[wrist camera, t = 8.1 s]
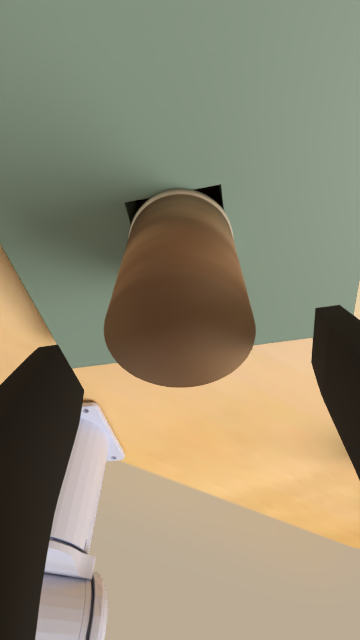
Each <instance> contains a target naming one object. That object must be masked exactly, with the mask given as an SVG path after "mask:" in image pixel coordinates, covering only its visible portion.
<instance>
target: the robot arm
mask: <svg viewBox="0 0 360 640" xmlns="http://www.w3.org/2000/svg"><path fill="white" fill-rule="evenodd" d="M311 363H312V366H313V369H314V373H315V376H316V379H317V382H318V386H319V389H320V392H321V395H322V397H323V400H324V402H325V404H326V406H327V409H328V411H329V413H330V415H331V418H332V420H333V422H334V424H335V427H336V429H337V431H338V433H339V435H340V437H341V440H342V442H343V444H344V446H345V448H346V451H347V453H348V455H349V457H350V459H351V462H352V464H353V466H354V468H355V470H356V473H357V475H358V477H359V480H360V320H359V319H358V318H356V317H355V316H354V315H352V314H351V313H350V312H349V311H347V310H346V309H345V308H343V307H342V306H341V305H334V306H327V307H320V308H315V319H314V333H313V347H312V361H311ZM83 395H84V389H83V387H82V386H81V384H80V382H79V380H78V379H77V377H76V375H75V373H74V372H73V370H72V368H71V366H70V365H69V363H68V361H67V359H66V358H65V356H64V354H63V352H62V351H61V349H60V347H59V345H52V346H45V347H39V348H37V349H36V350H35V351H34V352H33V353H32V354H31V355H30V356H29V357H28V358H27V359H26V360H25V361H24V362H23V363H22V364H21V365H20V366H19V367H18V368H17V369H16V370H15V371H14V372H13V373H12V374H11V375H10V376H9V377H8V378H7V379H6V380H5V381H4V382H3V383H2V384H1V385H0V640H104V638H105V631H106V622H107V607H108V605H107V604H108V603H107V592H106V588H105V586H104V584H103V580H102V577H101V575H100V574H99V573H97V572H93V570H94V564H95V558H96V557H95V556H92V555H89V550H90V544H91V539H92V534H93V528H94V523H95V518H96V512H97V507H98V502H99V497H100V492H101V486H102V481H103V476H104V470H105V465H106V461H115V460H122V459H124V457H125V453H124V451H123V449H122V448H121V446H120V444H119V442H118V440H117V438H116V437H115V435H114V433H113V431H112V429H111V427H110V426H109V424H108V422H107V420H106V418H105V416H104V415H103V413H102V411H101V409H100V407H99V406H98V404H96V403H93V402H89V403H83Z"/></svg>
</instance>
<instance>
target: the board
mask: <svg viewBox="0 0 360 640" xmlns="http://www.w3.org/2000/svg"><path fill="white" fill-rule="evenodd" d="M215 185H218V186H219V195H220V204H221V207H222V208H223V210H224V211H225V213H226V214H227V216H228V218H229V221H230V224H231V227H232V231H233V238H234V244H235V247H236V251H237V255H238V259H239V263H240V266H241V270H242V274H243V278H244V282H245V286H246V289H247V293H248V297H249V301H250V305H251V308H252V312H253V316H254V320H255V326H256V335H255V341H254V344H253V345H259V344H267V343H274V342H282V341H290V340H298V339H306V338H313V333H314V319H315V308H320V307H327V306H334V305H341V306H342V307H343V308H345V309H346V310H347V311H349V312H350V313H351V314H352V315H354V309H355V303H356V297H357V291H358V285H359V279H360V0H0V244H1V246H2V248H3V250H4V251H5V253H6V255H7V257H8V258H9V260H10V262H11V264H12V266H13V267H14V269H15V271H16V273H17V274H18V276H19V278H20V280H21V281H22V283H23V285H24V287H25V288H26V290H27V292H28V294H29V296H30V297H31V299H32V301H33V303H34V304H35V306H36V308H37V310H38V311H39V313H40V315H41V317H42V318H43V320H44V322H45V324H46V326H47V327H48V329H49V331H50V333H51V334H52V336H53V338H54V340H55V341H56V343H57V345H59V347H60V349H61V351H62V352H63V354H64V356H65V358H66V359H67V361H68V363H69V365H70V366H71V368H79V367H87V366H95V365H103V364H111V363H117V362H116V360H115V359H114V358H113V357H112V355H111V353H110V352H109V350H108V348H107V345H106V343H105V338H104V321H105V317H106V314H107V310H108V307H109V303H110V300H111V297H112V293H113V290H114V286H115V283H116V280H117V276H118V273H119V269H120V266H121V262H122V259H123V256H124V252H125V249H126V245H127V242H128V237H129V231H130V227H131V224H132V221H133V219H134V216H135V214H136V213H137V211H138V206H137V202H136V200H141V199H146V198H151V197H153V196H155V195H156V194H159V193H161V192H164V191H167V190H172V189H191V190H194V189H199V188H204V187H210V186H215Z"/></svg>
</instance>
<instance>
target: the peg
mask: <svg viewBox="0 0 360 640" xmlns="http://www.w3.org/2000/svg"><path fill="white" fill-rule="evenodd" d="M255 335H256V326H255V320H254V316H253V312H252V308H251V305H250V301H249V297H248V293H247V289H246V286H245V282H244V278H243V274H242V270H241V266H240V263H239V259H238V255H237V251H236V247H235V244H234V238H233V231H232V227H231V224H230V221H229V218H228V216H227V214H226V213H225V211H224V210H223V208H222V207H221V206H220V205H219V204H218V203H217V202H216V201H215V200H213V199H212V198H211V197H209V196H207V195H206V194H203V193H201V192H198V191H195V190H191V189H172V190H167V191H164V192H161V193H159V194H156V195H155V196H153V197H151V198H150V199H148V200H147V201H146V202H145V203H144V204H143V205H142V206H141V207H140V208H139V210H138V211H137V213H136V214H135V216H134V219H133V221H132V224H131V227H130V231H129V237H128V242H127V245H126V249H125V252H124V256H123V259H122V262H121V266H120V269H119V273H118V276H117V280H116V283H115V286H114V290H113V293H112V297H111V300H110V303H109V307H108V310H107V314H106V317H105V321H104V338H105V343H106V345H107V348H108V350H109V352H110V353H111V355H112V357H113V358H114V359H115V360H116V362H117V363H118V364H119V365H120V366H121V367H122V368H124V369H125V370H126V371H127V372H129V373H130V374H132V375H134V376H135V377H137V378H139V379H142V380H144V381H147V382H149V383H152V384H156V385H160V386H166V387H194V386H200V385H204V384H208V383H211V382H214V381H217V380H219V379H221V378H223V377H225V376H227V375H228V374H230V373H231V372H233V371H234V370H235V369H237V368H238V367H239V366H240V365H241V364H242V363H243V362H244V361H245V359H246V358H247V357H248V355H249V353H250V351H251V350H252V347H253V344H254V341H255Z"/></svg>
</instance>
